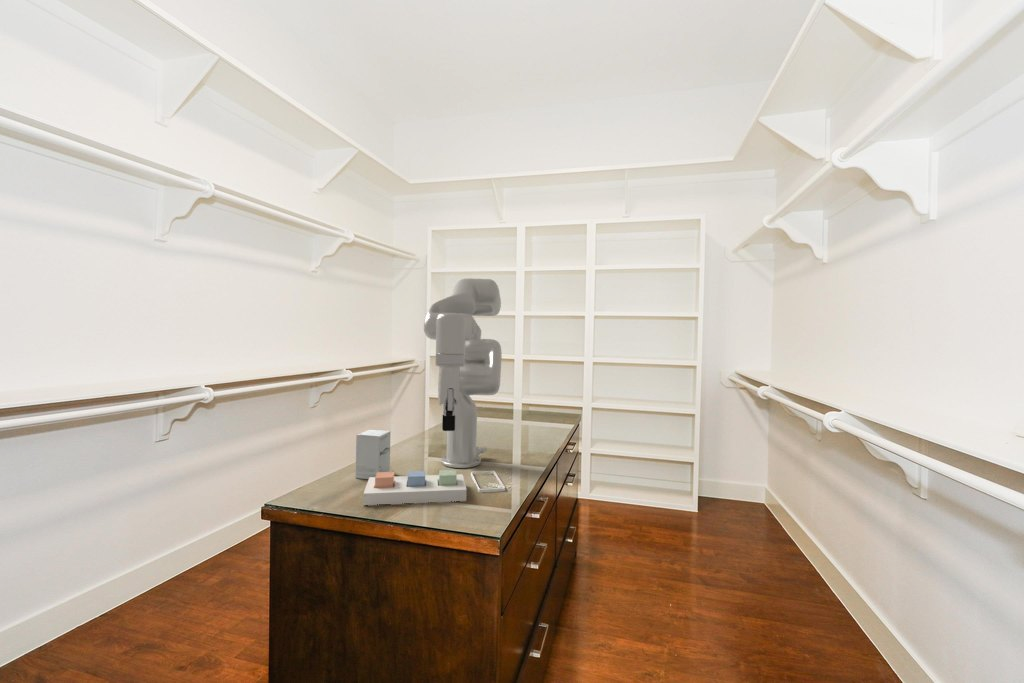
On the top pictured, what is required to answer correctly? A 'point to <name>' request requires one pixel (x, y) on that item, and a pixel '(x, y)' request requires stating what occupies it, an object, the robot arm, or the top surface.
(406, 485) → the button panel
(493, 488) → the white rectangular frame
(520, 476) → the top surface
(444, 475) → the button sage
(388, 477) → the button terracotta
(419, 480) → the button slate
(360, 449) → the supplement box
